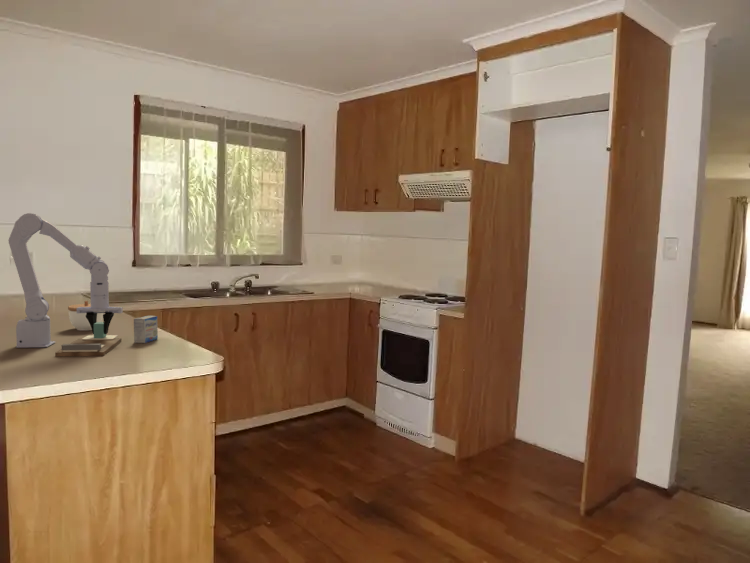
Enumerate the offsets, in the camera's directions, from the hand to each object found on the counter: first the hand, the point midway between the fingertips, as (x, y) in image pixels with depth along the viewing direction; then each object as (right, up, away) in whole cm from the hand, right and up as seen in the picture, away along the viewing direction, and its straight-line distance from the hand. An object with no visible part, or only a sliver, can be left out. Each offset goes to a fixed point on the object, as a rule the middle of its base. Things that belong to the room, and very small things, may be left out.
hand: (100, 333), depth 197 cm
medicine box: (+15, -3, +4) cm, 15 cm away
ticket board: (+2, -4, -11) cm, 12 cm away
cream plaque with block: (0, -2, 0) cm, 2 cm away
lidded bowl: (-17, -1, +23) cm, 29 cm away
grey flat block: (+3, -3, -17) cm, 17 cm away
